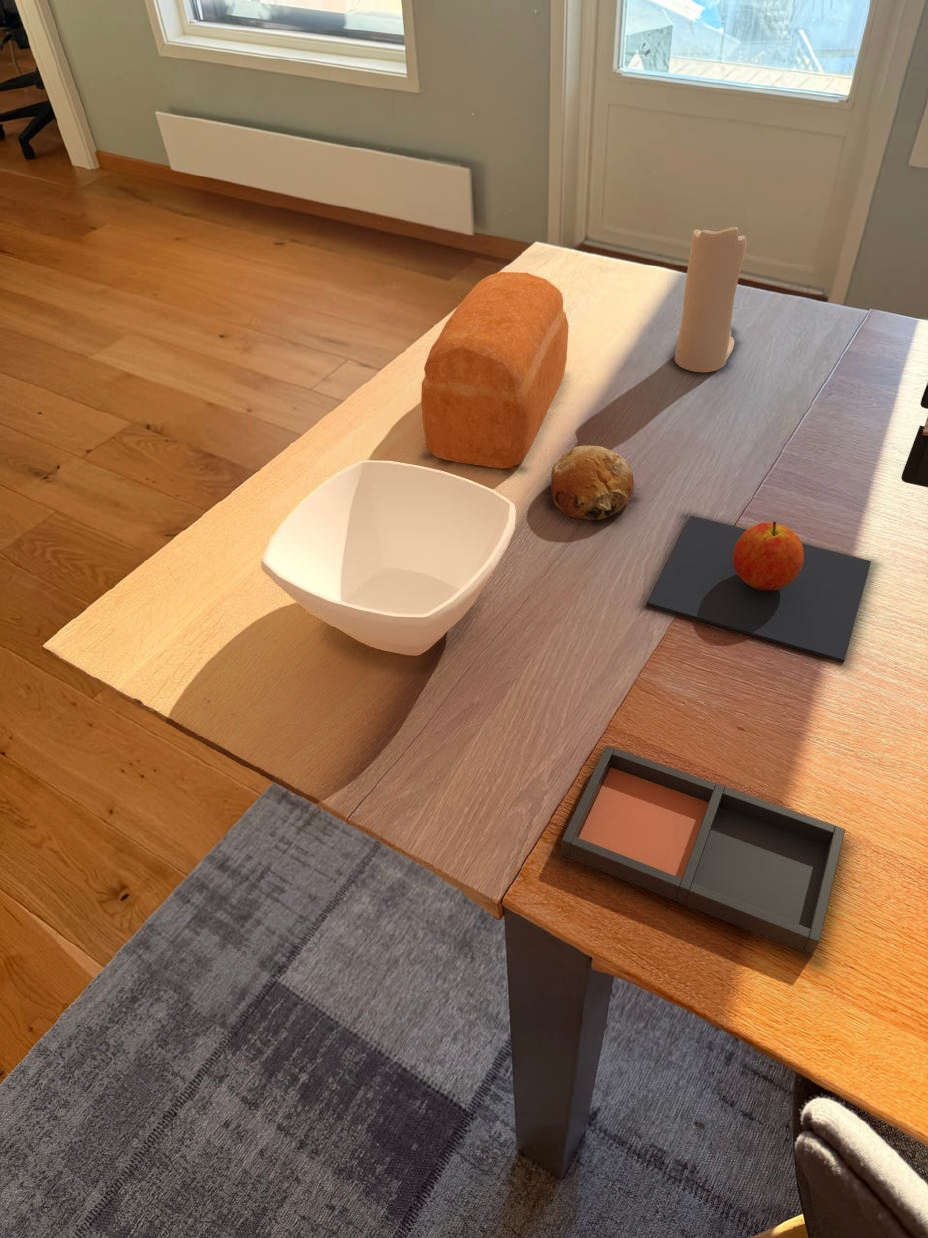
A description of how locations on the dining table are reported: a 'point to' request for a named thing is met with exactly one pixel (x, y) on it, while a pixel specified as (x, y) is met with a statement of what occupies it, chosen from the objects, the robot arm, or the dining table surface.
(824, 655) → the mat
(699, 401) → the dining table surface
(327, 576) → the bowl
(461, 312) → the bread
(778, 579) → the fruit
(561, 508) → the bread roll
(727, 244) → the candle
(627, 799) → the tray
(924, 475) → the robot arm
